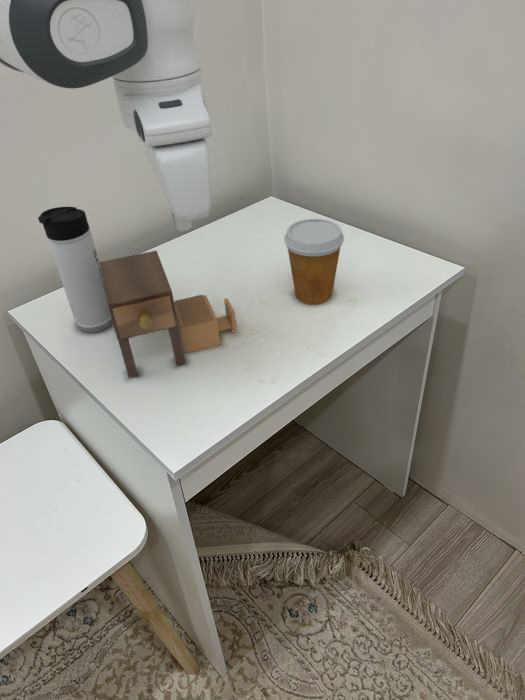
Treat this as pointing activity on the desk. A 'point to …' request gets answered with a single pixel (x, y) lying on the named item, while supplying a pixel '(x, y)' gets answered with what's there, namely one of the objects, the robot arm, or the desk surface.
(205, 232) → the desk surface
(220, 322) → the wooden drawer
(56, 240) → the travel mug
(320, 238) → the disposable coffee cup
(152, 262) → the drawer unit
